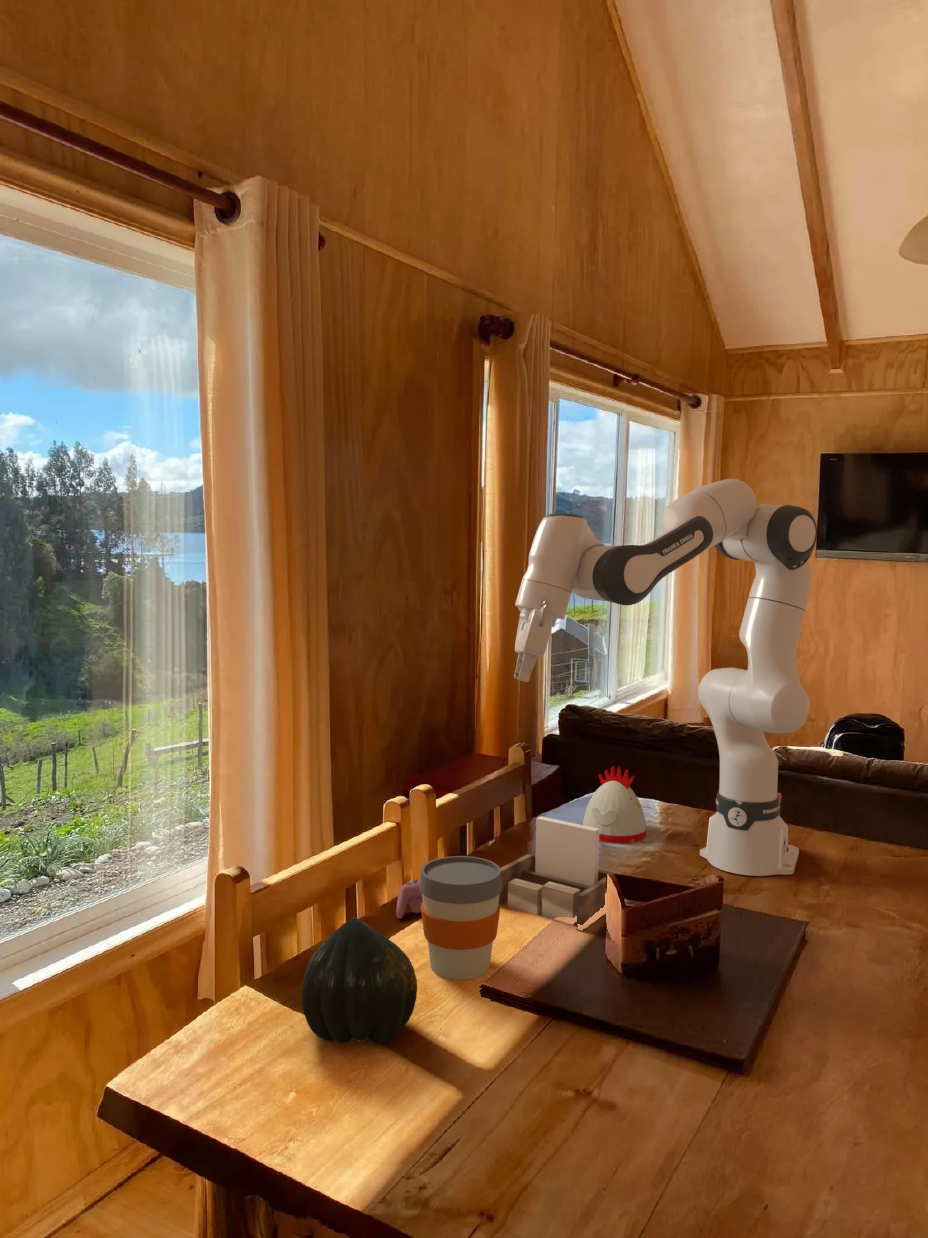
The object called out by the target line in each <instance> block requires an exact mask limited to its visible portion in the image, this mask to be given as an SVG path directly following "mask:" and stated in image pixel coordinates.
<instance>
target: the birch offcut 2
mask: <svg viewBox="0 0 928 1238" xmlns="http://www.w3.org/2000/svg"><path fill="white" fill-rule="evenodd" d="M578 894H580V889H576V888H572V887H568V886H565V885H561V884H557V883H553V882H548V883H546V884H545V885H543V886H542V912H541V917H542V918H546V919H550V920H552V921H554V920H553V919H555V918H557V917H569V918H574V917H575V916H577V895H578Z"/></svg>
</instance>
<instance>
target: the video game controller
mask: <svg viewBox="0 0 928 1238" xmlns="http://www.w3.org/2000/svg"><path fill="white" fill-rule="evenodd" d="M419 884H420V878H418V879H415V880H409V881H407V882H406V883H404V884H403V885H402V886H401V888H400V890H399V892H398V895H397V901H396V909H395V910H396V918H397V919H398V918H399V919H398V920H401V919H403V917H404V915H405V913H406V910H407V908H408V907H407V906H409V907H410V909H411V911H412V912H413V913H415V914H420V913H421V904H422V902H423V899H422V893H421V892H420V890H419Z"/></svg>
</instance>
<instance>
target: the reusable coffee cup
mask: <svg viewBox="0 0 928 1238" xmlns="http://www.w3.org/2000/svg"><path fill="white" fill-rule="evenodd" d="M500 868H501V867H500V866H499V865H498V864H497V863H496V862H493V861H491V860H489V859H486V858H480V857H477V856H470V855H469V856H468V855H455V856H452V855H451V856H445V857H439V858H435V859H432V860H430V861H428V862H426V863H424V864H423V865H422V866H421V869H420V877H419V879H420V884H419V890H420V892H421V893H422V897H421V900H422V901H423V902H422V904H421V912H420V913H421V919H422V921H421V922H422V930H423V936H424V938H425V940H426V941H427V948H428V954H429V966H430V969H431V971H432V972H433V973H434V974H436V975H437V976H439V977H441V978H445V979H449V980H456V981H460V980H461V981H462V980H463V981H465V980H472V979H476V978H480V977H482V976H483V975H485V974H486V973H488V971H489V969H490V967H491V966H490V965H491V957H492V950H493V942H494V941H495V940H496V938H497V935H498V928H499V922H500V913H501V904H499V903H498V902H499V895H500V893H501V892H502V878H501V870H500Z"/></svg>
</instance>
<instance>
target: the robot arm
mask: <svg viewBox="0 0 928 1238" xmlns="http://www.w3.org/2000/svg"><path fill="white" fill-rule="evenodd" d="M757 504H758V503H757V497H756V494H755V491H754V490H753V489H752V487H750V485H749V484H747V483H746V482H745V481H743V480H740V479H737V478H726V479H723V480H719V481H714V482H711V483H708V484H705V485H702V486H700V487H698V488H696V489H693V490H691V491H689V492H687V493H685V494H682V495H681V496H680V497H678V498H676V499H675V500H674V501H672V502H671V503H670V504H668V506H667V507H665V509H664V510H663V513H662V517H661V530H662V534H661V535H659V536H657V537H655V538H654V539H651V540H650V541H648V542H647V543H645V544H642V545H640V544H625V545H624V544H623V545H605V543H603V542H601V541H600V540H599V538H597V537H596V536H595V534H594V533H593V531H592V530H591V528H590V526H589V525H588V520H587V518H586V517H584V516H581V515H578V514H573V513H561V512H557V513H556V512H555V513H550V514H549V513H548V514H547V515H544V516H543V518H542V520H541V521H540V523H539V525H538V528H537V529H536V532H535V535H534V538H533V540H532V543H531V547H530V549H529V554H528V565H527V570H526V571H525V573H524V575H523V576H522V578H521V579H522V580H521V582H520V586H519V590H518V593H517V597H516V600H515V603H514V606H515V607H517V608H518V611H520V614H519V619H518V625H517V631H516V637H515V643H514V644H515V645H514V651H515V653H517V654H518V655H517V659H516V667H515V671H514V674H513V676H514V677H513V678H514V679H515V680H518V681H521V682H524V683H529V681H530V678H531V675H532V672H533V669H534V667H535V665H536V663H537V659H538V657H539V658H541V657H544V655H545V652H546V650H547V647H548V642H549V640H550V635H551V630H552V627H556V625H557V624H556V622H557V620H558V619H560V620H564V619H565V618H566V615H567V610H568V607H569V603H570V600H571V596H572V593H573V594H575V595H576V596H578V597H580V598H583V599H587V600H594V601H601V602H610V603H612V604H613V603H614V604H616V605H620V606H621V605H622V606H632V605H635V604H638V603H640V602H642V601H643V600H644V599H646V597H647V596H649V594H650V593H651V592H652V590H654V588H655V587H656V586H657V584H659V583H660V581H661V580H662V579H664V578H665V577H666V576H667V575H669V574H670V573H673V572H674V571H675V570H677V569H679V568H680V567H682V566H684V565H685V564H686V563H688V562H689V561H691V560H693V559H694V558H696V557H698V556H699V555H700V554H702V553H703V552H704V551H706V550H708V549H710V548H712V547H715V550H716V551H717V552H718V553H719V554H720V555H722V556H724V557H726V558H728V559H731V560H742V561H747V562H754V565H755V576H754V579H753V581H752V585H751V588H750V590H749V595H748V598H747V601H746V605H745V609H744V614H743V617H742V620H741V625H740V628H739V632H738V633H739V634H738V635H739V636H738V637H739V640H740V642H741V643H742V644H743V646H744V647H745V649H746V653H747V669H742V668H738V667H721V668H714V669H711V670H709V671H708V672H707V673H706V674H705V675H704V676H703V677H702V679H701V680H700V683H699V684H698V685H699V686H698V690H697V691H698V692H697V694H698V700H699V703H700V705H701V706H702V708H703V709H704V711H705V712H706V715H708V718H709V720H710V722H711V726H712V728H713V731H714V735H715V738H716V743H717V748H718V755H719V788H718V791H717V793H716V799H715V806H716V807H715V809H716V812H715V813H714V814H712V815H711V816H710V817H709V819H708V827H707V828H708V829H707V839H706V846H705V847H703V848H701V849H699V856H700V857H702V858H704V859H706V860H707V861H708V863H710V864H711V866H713V867H715V868H716V869H719V870H721V871H725V872H728V873H731V874H736V875H740V876H741V875H743V876H752V877H753V876H754V877H764V876H765V877H767V876H774V875H783V876H784V875H785V876H786V875H793V874H794V873H795V869H796V865H797V862H798V859H799V855H800V850H799V849H800V848H799V847H797V846H795V845H793V844H789V826H788V824H786V822H785V821H784V819H783V818H782V817H781V816H780V815H781V809H780V808H781V802H782V799H783V797H782V793H781V792H778V781H779V780H778V779H779V778H778V777H779V760H778V757H777V754H776V753H775V751H774V750H773V749H772V748H771V746H770V745H769V743H768V740H767V739H766V735H765V733H767V734H791V733H795V732H796V731H798V730H799V729H801V728H802V727H803V725H804V724H805V723H806V722H807V719H808V717H809V714H810V709H811V702H810V697H809V695H808V692H807V691H806V690H805V688H804V687H803V684H802V682H801V681H800V677H799V673H798V666H797V652H798V651H797V648H798V642H799V638H800V634H801V630H802V626H803V625H802V624H803V621H804V617H805V613H806V609H807V605H808V601H809V596H810V595H809V594H810V588H811V576H812V575H811V574H812V569H811V568H812V566H811V563H810V562H809V559H810V557H811V555H812V553H813V551H814V548H815V546H816V543H817V538H818V527H817V524H816V523H817V522H816V520H815V517H814V516H813V514H812V513H811V512H810V511H809V510H807V509H806V508H804V507H801V506H797V505H792V504H785V505H782V504H769V503H767V504H766V503H765V504H764V503H762V504H758V505H757Z"/></svg>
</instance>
